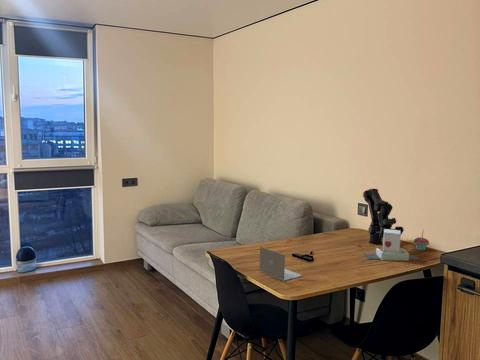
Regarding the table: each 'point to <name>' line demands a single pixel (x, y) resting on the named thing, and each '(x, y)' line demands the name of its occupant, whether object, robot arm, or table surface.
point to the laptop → (275, 265)
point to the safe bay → (392, 256)
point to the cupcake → (421, 243)
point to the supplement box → (391, 241)
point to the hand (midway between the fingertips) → (388, 243)
